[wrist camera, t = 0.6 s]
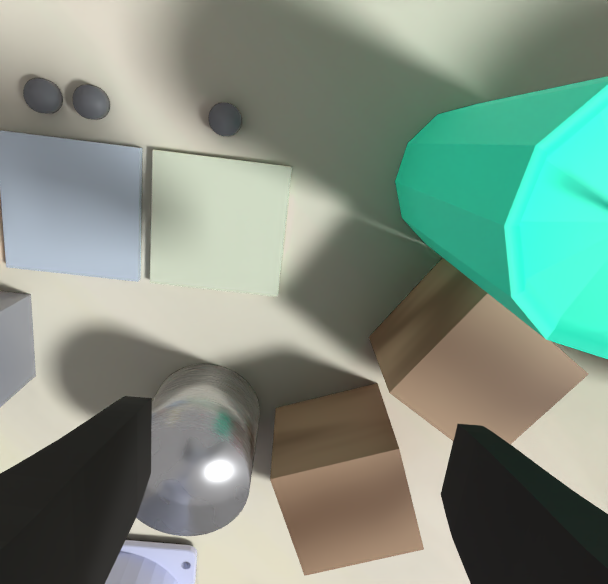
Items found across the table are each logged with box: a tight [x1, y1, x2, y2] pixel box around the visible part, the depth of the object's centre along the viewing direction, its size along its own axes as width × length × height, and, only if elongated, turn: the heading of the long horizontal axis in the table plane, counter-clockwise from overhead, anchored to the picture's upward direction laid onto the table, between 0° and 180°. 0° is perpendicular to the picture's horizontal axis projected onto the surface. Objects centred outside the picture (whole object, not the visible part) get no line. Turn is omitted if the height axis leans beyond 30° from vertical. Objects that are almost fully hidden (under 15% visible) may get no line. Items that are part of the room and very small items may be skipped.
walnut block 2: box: [369, 258, 588, 444], centre depth 19 cm, size 5×5×5 cm
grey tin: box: [136, 364, 260, 536], centre depth 20 cm, size 5×5×5 cm
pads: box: [0, 78, 292, 297], centre depth 19 cm, size 8×18×1 cm, turn 83°
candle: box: [395, 76, 608, 359], centre depth 13 cm, size 6×6×12 cm
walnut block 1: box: [270, 383, 424, 575], centre depth 21 cm, size 5×5×5 cm
